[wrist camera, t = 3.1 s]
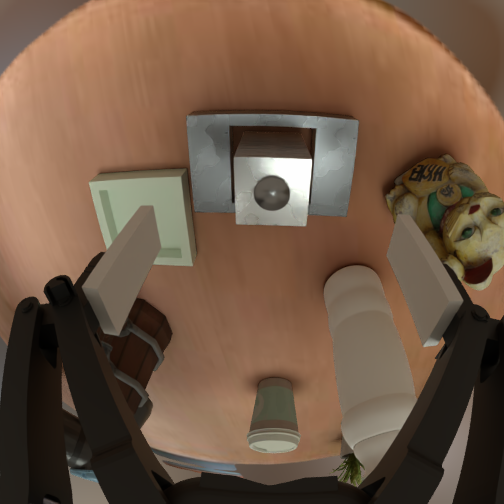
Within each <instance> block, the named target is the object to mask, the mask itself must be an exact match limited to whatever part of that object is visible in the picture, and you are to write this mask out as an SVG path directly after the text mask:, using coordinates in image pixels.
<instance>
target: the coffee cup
mask: <svg viewBox="0 0 504 504" xmlns="http://www.w3.org/2000/svg"><path fill="white" fill-rule="evenodd" d="M300 437H301V435H300V434H299V432H298V425H297V418H296V411H295V404H294V397H293V391H292V385H291V383H290V382H289V381H288V380H286V379H282V378H268V379H265V380H262V381H261V382H260V383H259V385H258V390H257V395H256V400H255V406H254V411H253V416H252V421H251V425H250V431H249V433H248V434H247V441H248V442H249V447H250V448H251V449H253V450H255V451H259V452H264V453H283V452H289V451H292V450H294V449H296V448H297V446H298V442H299V441H300Z"/></svg>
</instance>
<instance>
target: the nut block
mask: <svg viewBox="0 0 504 504" xmlns="http://www.w3.org/2000/svg"><path fill="white" fill-rule="evenodd" d="M311 166H312V158H311V156H310V153H309V151H308V148H307V146H306V144H305V141H304V139H303V137H302V134H301V133H293V132H262V131H244V133H243V136H242V138H241V140H240V143H239V145H238V148H237V150H236V153H235V155H234V183H235V211H236V224H243V225H280V226H306V223H307V213H308V202H309V191H310V179H311Z"/></svg>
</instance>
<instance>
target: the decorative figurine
mask: <svg viewBox="0 0 504 504" xmlns="http://www.w3.org/2000/svg"><path fill="white" fill-rule="evenodd" d="M394 182H395V185H396V186H395V189H392V190H390V193H389V194H386V195H385V197H386V202H387V205H388V208H389V210H390V212H391V213H392V215H393V220H394V224H395V223H396V219H397V215H398V214H404V215H410V216H411V217H412V219H413V220H414V222H415V223H416V225H417V226H418V227H419V229H420V230H421V232H422V233H423V235H424V236H425V238H426V239H427V241H428V242H429V244H430V245H431V247H432V248H433V250H434V251H435V253H436V255H437V256H438V258H439V259H440V261H441V263H442V264H447V265H448V266H449V267H451V268H452V269H453V270H454V272H455V273H456V275H457V277H458V279H459V280H460V282H461V281H462V280H463V281H464V282H465V284H467V285H468V286H469V287H471V288H473V289H475V290H483V289H485V288H487V286H488V285H489V284H490V283H491V279H492V276H493V274H494V273H496V272H497V271H498V270H499V269H501V267H502V266H503V265H504V202H503V201H502V199H501V198H500V197H498V196H496V195H495V194H491V193H489V192H488V189H487V188H486V186H485V184H484V183H483V181H482V180H481V178H480V177H479V176H477V175H476V174H475V173H474V171H473V170H472V169H471V168H470V167H469V166H468V165H467V164H464V163H461V162H460V163H457V162H456V161H455V160H454V159H453V158H452V157H451V156H450V155H448V154H444V155H441V156H440V157H439V158H437V159H435V158H427V159H425V160H423V161H421V162H419V163H417V164H416V165H415V166H414V167H412V168H411V169H409V170H408V171H406V172H405V173H403V174H402V175H401V176H399V177H397V178H396V179H395V181H394Z"/></svg>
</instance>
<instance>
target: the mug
mask: <svg viewBox="0 0 504 504" xmlns="http://www.w3.org/2000/svg"><path fill="white" fill-rule="evenodd" d="M96 332H97V333H98V335H99V338H100V340H101V343H102V346H103V348H104V351H105V354H106V356H107V359H108V361H109V364H110V366H111V368H112V371H113V373H114V376H115V378H116V380H117V382H118V385H119V387H120V389H121V391H122V394H123V396H124V398H125V400H126V402H127V404H128V406H129V408H130V410H131V412H132V414H133V416H134V415H135V413H136V411H137V409H138V407H142V406H143V405H144V403H145V402H146V401H147V400H148V396H149V395H148V393H147V392H146V391H145V388H146V386H147V384H148V381H149V379H150V377H151V375H152V372H153V371H156V370H157V369H158V367H159V366H160V365H161V363H162V362H163V360H164V354H163V352H164V350H165V349H166V347H167V346H168V344H169V343H170V340H171V336H172V331H171V329H170V327H169V324H168V322H167V320H166V317H165V316H164V315H163V314H161V313H160V312H159V311H157V310H156V309H155V308H153V307H152V306H151V305H149V304H148V303H147V302H145V301H144V300H140V299H135V301H134V304H133V306H132V308H131V310H130V312H129V314H128V316H127V319H126V321H125V323H124V325H123V327H122V330H121V332H120V334H119V336H117V335H111V334H105V333H104V332H103V330H102V328H101V326H100V325H99V327H98V329H97V331H96Z"/></svg>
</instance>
